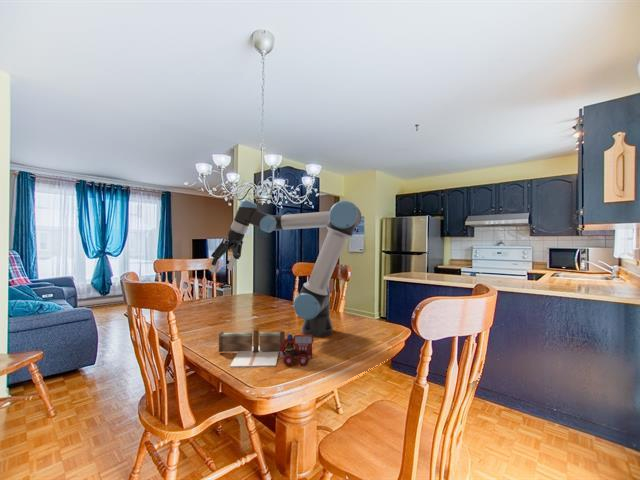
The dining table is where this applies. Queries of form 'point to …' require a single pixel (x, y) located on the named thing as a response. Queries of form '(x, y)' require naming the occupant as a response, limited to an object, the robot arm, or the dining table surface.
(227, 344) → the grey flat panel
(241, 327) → the dining table surface
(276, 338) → the fence fixed section
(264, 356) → the card
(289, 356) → the toy fire truck
